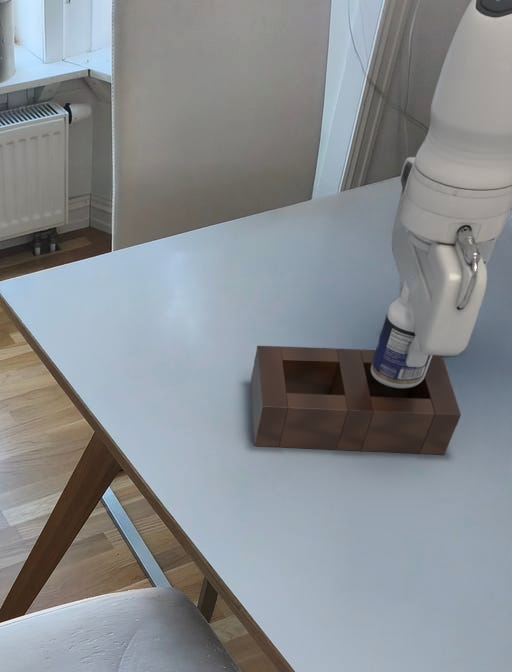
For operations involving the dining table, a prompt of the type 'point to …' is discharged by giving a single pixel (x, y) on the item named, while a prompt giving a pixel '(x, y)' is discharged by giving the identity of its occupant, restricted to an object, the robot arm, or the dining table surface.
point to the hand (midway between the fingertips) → (408, 343)
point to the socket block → (347, 403)
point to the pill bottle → (397, 348)
